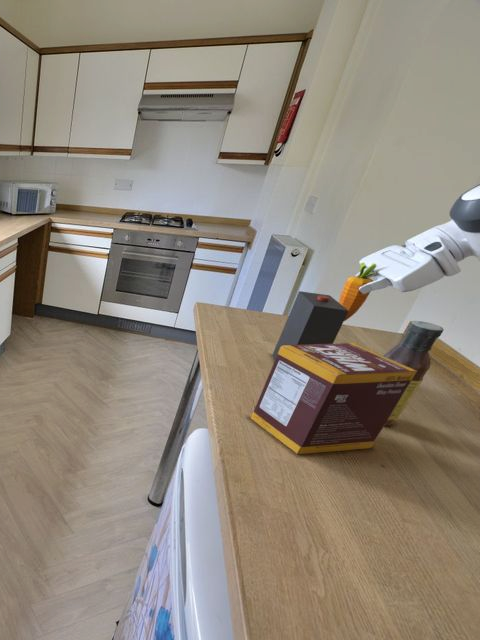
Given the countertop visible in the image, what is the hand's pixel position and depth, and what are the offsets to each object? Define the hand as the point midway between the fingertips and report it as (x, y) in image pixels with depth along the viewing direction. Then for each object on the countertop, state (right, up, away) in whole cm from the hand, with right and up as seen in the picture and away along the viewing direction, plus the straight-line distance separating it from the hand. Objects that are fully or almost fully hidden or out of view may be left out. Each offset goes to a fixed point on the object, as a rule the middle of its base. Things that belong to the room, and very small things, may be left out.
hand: (354, 287), depth 98 cm
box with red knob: (-10, -20, -2) cm, 23 cm away
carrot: (0, -8, +4) cm, 9 cm away
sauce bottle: (-14, -28, -18) cm, 36 cm away
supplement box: (-31, -30, -24) cm, 49 cm away
